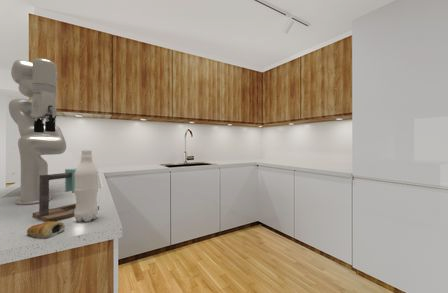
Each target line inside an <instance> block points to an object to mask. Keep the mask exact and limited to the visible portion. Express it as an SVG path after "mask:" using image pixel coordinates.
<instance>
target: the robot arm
mask: <svg viewBox="0 0 448 293" xmlns="http://www.w3.org/2000/svg"><path fill="white" fill-rule="evenodd" d="M10 76H11V78H12V81H13V82H14V83H16V84H17V85H18V90H19V92H20V94H21V95H23V96H24V97H28V98H29V99H28V98H14V99H11V100H10V101H9V103H8V111H9V116H10V117H11V119H12V120H13V122H14V123H15V124H16V125H17V128H18V132H19V135H20V137H19V139H18V140H17V145H18V151H19V157H20V158H19V159H20V198H19V199H17V200H15V205H21V206H22V205H23V206H24V205H33V204H39V186H40V175H49V174H48V172H49V169H48V167H49V165H48V162H47V160H45V158H43V157H42V156H45V155H47V156H48V155H61V154H64V153H65V151H66V149H67V143H66V139H65V137H64V134H63V133H62V132H63V131H62V130H61V128H60V127H59V126H58V125H56V122H57V119H56V118H57V112H58V111H57V103H56V98H57V81H58V72H57V64H56V63H55V62H53V61H52V60H50V59H49V60H48V59H46V58H34V59H33V60H32V61H29V60H23V59H16V60H15V61H14V62H13V64H12V67H11V70H10ZM30 98H32V99H30ZM44 121H45V122H44ZM52 199H53V198H52V196H51V195H49V201H51V200H52Z"/></svg>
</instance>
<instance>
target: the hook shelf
mask: <svg viewBox="0 0 448 293" xmlns="http://www.w3.org/2000/svg"><path fill="white" fill-rule="evenodd" d="M71 177H72V173H65V172H63V173H54V174H53V173H52V174H51V173H50V174H48V175H40V186H39V203H38V204H39V205H38V206H39V208H38V209H39V211H35V212H32V214H31V215H32V218H35V219H37V220H39V221H43V222H52V221H54V222H61V221H63V220H66V219H71V218H75V216H74V211H75V207H76V202H75V203H72V204H67V205H62V206H58V207H57V206H56V207H54V208H50V200H49V196H50V181H51V180H52V181H53V180H61V179H65V178H71ZM97 207H98V211H100V205H97ZM70 210H71V211H70Z"/></svg>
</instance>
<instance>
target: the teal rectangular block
mask: <svg viewBox="0 0 448 293" xmlns="http://www.w3.org/2000/svg"><path fill="white" fill-rule="evenodd" d="M76 169H77V167H76V168H65V169H64V170H65V171H64V173H72V177H71V178H64V180H65V181H64V187H65V188H64V191H65V192H66V193H67V192H71V194H75V193H74V189H75V175H74V174H75V171H76Z"/></svg>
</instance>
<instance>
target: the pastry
mask: <svg viewBox="0 0 448 293" xmlns="http://www.w3.org/2000/svg"><path fill="white" fill-rule="evenodd" d="M65 228H66V226H65V224H64V222H62V221H56V222H54V221H52V222H45V221H43V222H42V223H39V224H35V225H34V224H33V225H32V226H29V227H28V229H27V230H26V234H28V235H29V236H31V237H32V238H36V237H37V238H38V239H49V238H52V237H55V236H56V235H58V234H60V233H62V232H63V231H64V230H65ZM37 238H36V239H37Z"/></svg>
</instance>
